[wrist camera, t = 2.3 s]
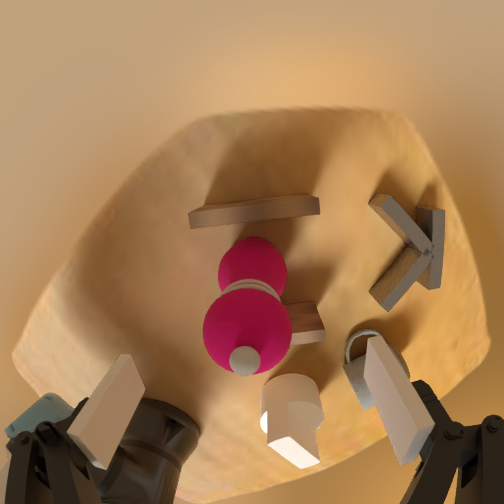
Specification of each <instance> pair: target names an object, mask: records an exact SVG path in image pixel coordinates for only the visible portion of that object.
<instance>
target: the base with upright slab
mask: <svg viewBox="0 0 504 504" xmlns="http://www.w3.org/2000/svg"><path fill="white" fill-rule="evenodd" d="M323 420H324V413H323V408H322V404H321V400H320V396H319V391H318V387H317V385H316V383H315V381H313V380H312V379H311V378H310V377H308V376H305V375H302V374H296V373H289V374H283V375H279V376H277V377H274V378H272V379H271V380H269V381H268V382H267V383H266V384H265V385H264V386H263V388H262V390H261V396H260V425H261V428H262V429H263V431H264V432H265V433H267V445H269V446H270V447H271V448H273V449H274V450H275V451H276V452H278V453H279V454H280V455H282V456H283V457H285V458H286V459H287V460H289V461H290V462H291V463H293V464H294V465H296V466H297V467H299V468H300V469H302V468H306V467H310V466H312V465H315V464H317V463H319V462H320V457H319V451H318V445H317V439H316V434H315V430H317V429H318V428H319V427H320V426H321V424H322V423H323Z"/></svg>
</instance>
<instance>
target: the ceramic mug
mask: <svg viewBox="0 0 504 504" xmlns="http://www.w3.org/2000/svg"><path fill="white" fill-rule="evenodd" d="M368 334H375V335H376V336H381V335H380V334H379V333H378V332H377V331H375V330H372V329H363V330H360V331H357V332H356V333H354V334H353V335H352V336H351V337H350V338H349V339H348V342H347V344H346V349H345V353H346V360H347V363H346V364H344V365H343V368H344V371H345V373H346V375H347V378H348V380H349V382H350V384H351V386H352V388H353V390H354V392H355V394H356V396H357V398H358V400H359V402H360V404H361V406H362V408H363V410H367V409H368V408H370V407H372V406H373V405H375V402H374V400H373V397H372V395H371V393H370V390H369V388H368V386H367V383H366V381H365V379H364V368H365V361H366V354H365V355H363V356H360V357H358V358H356V359H354V360H352V361H350V355H349V351H350V347H351V345H352V342H353V341H354V339H355V338H357V337H359V336H361V335H368ZM382 338H383V337H382ZM383 339H384V338H383ZM384 341H385V339H384ZM387 345H388V347H389V348H390V350H391V352H392V353H393V355H394V356H395V358H396V359H397V361H398V363H399V364H400V366H401V367H402V369H403V371H404V372H405V374H406V375H407V377H408V379H410V372H409V369H408V367H407V364H406V362H405V360H404V358H403V356H402V355H401V353H400V352H399V350H398V349H397V347H396V346H395V345H393V344H391V343H388V344H387Z"/></svg>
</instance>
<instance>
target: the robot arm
mask: <svg viewBox="0 0 504 504" xmlns="http://www.w3.org/2000/svg"><path fill="white" fill-rule="evenodd" d="M364 379H365V381H366V383H367V386H368V388H369V390H370V393H371V395H372V397H373V400H374V402H375V404H376V407H377V409H378V412H379V414H380V416H381V419H382V421H383V424H384V426H385V429H386V431H387V434H388V436H389V439H390V441H391V444H392V446H393V449H394V452H395V454H396V457H397V460H398V462H399V465H403V464H406V463H409V462H412V461H415V460H416V458H417V457H418V455H419V454H420V456H421V459H422V461H421V462H420V464H419V465H418V467H417V468H416V473H415V475H414V477H413V479H412V481H411V483H410V485H409V487H408V489H407V491H406V493H405V495H404V497H403V499H402V500H401V502H400V504H443V503H444V501H445V499H446V496H447V494H448V491H449V488H450V486H451V483H452V481H453V478H454V475H455V472H456V469H457V468H458V478H457V488H456V497H455V504H504V420H503V419H502V418H501V417H500V416H498V415H490V416H487V417H486V418H485V419H484V420H483V422H482V424H479V425H473V426H463V425H462V424H461V423H458V422H453V421H452V420H451V419H450V417H449V415H448V414H447V412H446V411H445V409H444V408H443V406H442V405H441V403H440V401H439V400H438V399H437V397H436V395H435V394H434V392H433V390H432V389H431V387H430V386H429V385H428V384H427V383H425V382H424V381H422V380H418V381H415V382H410V380H409V379H408V377H407V375H406V374H405V372H404V371H403V369H402V367H401V366H400V364H399V363H398V361H397V359H396V358H395V356H394V355H393V353H392V352H391V350H390V348H389V347H388V345H387V344H386V342H385V341H384V339H383V338H382V336H376V337H370V338H368V343H367V352H366V361H365V368H364ZM145 390H146V389H145V386H144V384H143V382H142V379H141V377H140V375H139V372H138V370H137V368H136V365H135V363H134V360H133V358H132V355H131V354H120V355H119V357H118V358H117V360H116V361H115V362H114V364H113V365H112V367H111V368H110V369H109V371H108V372H107V374H106V375H105V376H104V378H103V379H102V381H101V382H100V383H99V385H98V386H97V388H96V389H95V391H94V392H93V393H92V395H91V396H90V398H88V397H86V398H85V399H83V400H82V401H81V402H79V404H78V405H77V407H76V408H73V407H71V406H70V405H69V404H68V403H67V402H66V401H64V400H63V399H62V398H61V397H60V396H59V395H57V394H55V393H47V394H45V395H44V396H42V397H41V398H40V399H39V400H38V401H36V403H34V404H33V405H32V406H31V407H30V408H28V409H27V410H26V411H25V412H24V413H23V414H21V415H20V416H19V417H18V418H17V419H16V420H15V421H13V422H12V423H11V424H10V425H9V426H8V427H7V428H6V429H5V432H6V434H7V437H9V438H11V439H10V441H9V442H8V443H7V445H6V446H5V449H6V453H7V457H8V462H7V463H6V465H5V466H4V468H3V469H2V470H1V472H0V504H173V501H174V497H175V493H176V489H177V485H178V481H179V476H180V472H181V468H182V466H183V464H184V463H185V462H186V460H187V459H188V458H189V456H190V455H191V454H192V452H193V451H194V450H195V448H196V447H197V444H198V441H199V436H200V432H199V428H198V426H197V425H196V423H195V422H194V421H193V420H192V419H191V418H190V417H189V416H188V415H187V414H185V413H184V412H182V411H181V410H179V409H177V408H176V407H174V406H171V405H169V404H167V403H164V402H161V401H157V400H152V399H141V398H142V396H143V394H144V392H145Z"/></svg>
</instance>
